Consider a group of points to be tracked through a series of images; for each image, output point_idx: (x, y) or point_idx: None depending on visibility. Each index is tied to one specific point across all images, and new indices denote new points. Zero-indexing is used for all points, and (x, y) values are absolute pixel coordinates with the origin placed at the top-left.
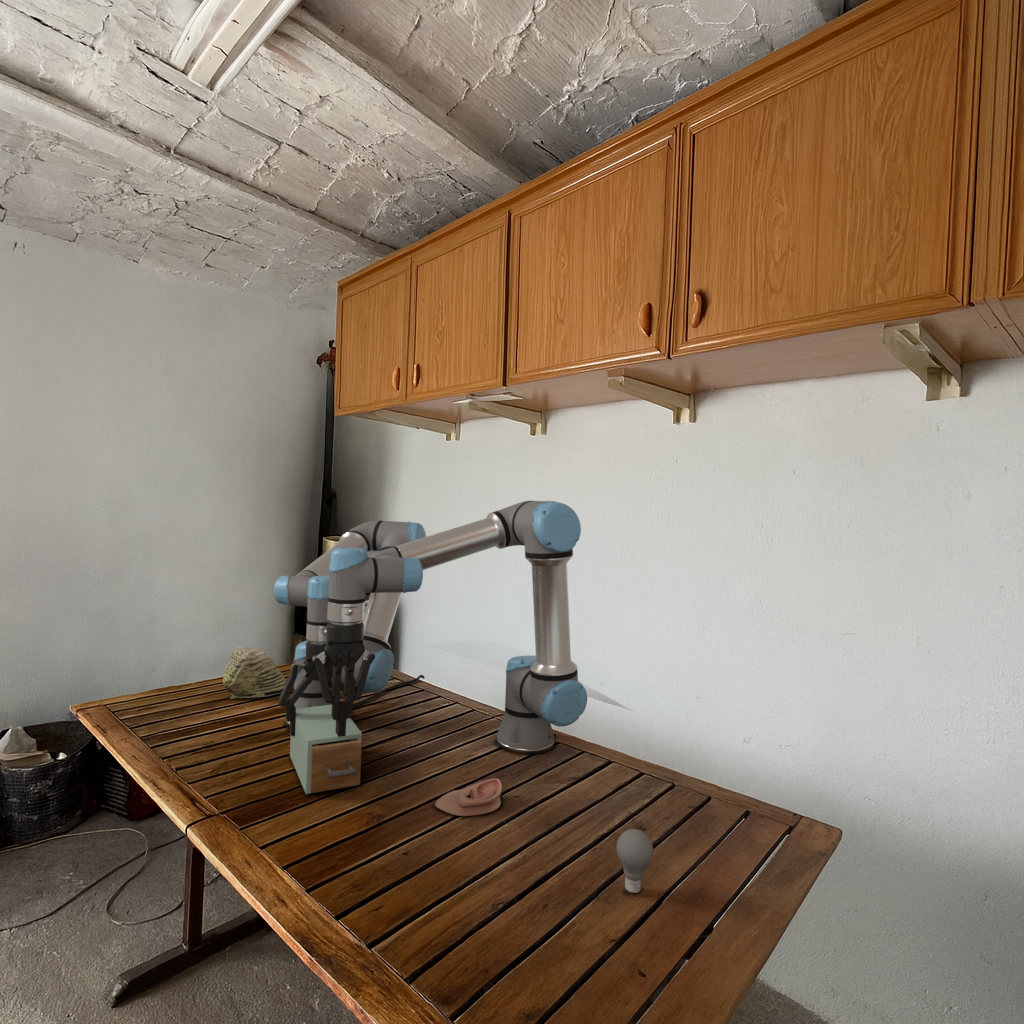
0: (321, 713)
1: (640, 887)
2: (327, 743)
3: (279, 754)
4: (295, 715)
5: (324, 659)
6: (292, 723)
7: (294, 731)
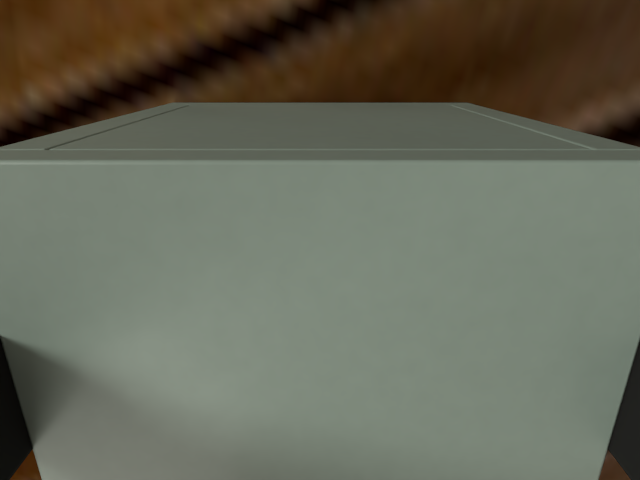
0: (328, 444)
1: None
2: None
3: (110, 47)
4: (19, 464)
5: None
6: None
7: None
